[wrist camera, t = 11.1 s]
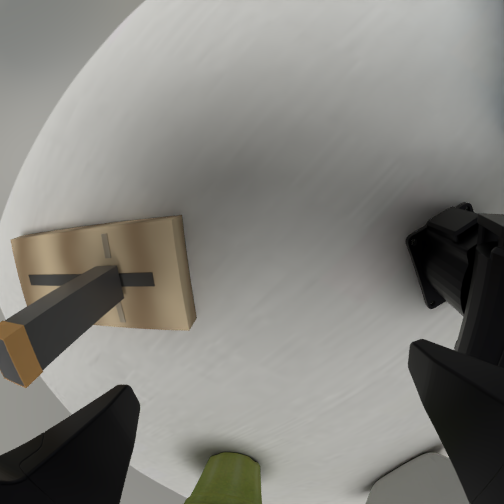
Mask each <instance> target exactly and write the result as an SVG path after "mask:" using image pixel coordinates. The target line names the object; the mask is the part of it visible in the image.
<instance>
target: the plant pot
mask: <svg viewBox="0 0 504 504" xmlns="http://www.w3.org/2000/svg"><path fill="white" fill-rule="evenodd" d="M184 504H262V498H261V476H260V465H259V464H258V463H257V462H254V461H253V460H252V459H251V458H250V457H248V456H246V455H242V454H238V453H231V452H224V453H220V454H218V455H215V456H211V457H210V458H209V460H208V462H207V464H206V466H205V468H204V471H203V473H202V475H201V477H200V479H199V481H198V483H197V484H196V486H195V488H194V490H193V492H192V494H191V496H190V497H188V498H187V499H186V501H185V503H184Z"/></svg>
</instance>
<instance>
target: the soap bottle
mask: <svg viewBox="0 0 504 504" xmlns="http://www.w3.org/2000/svg"><path fill="white" fill-rule="evenodd" d="M366 504H469V502H468V499H467V497H466V494H465V492H464V490H463V487H462V485H461V483H460V480H459V478H458V476H457V473H456V471H455V469H454V467H453V465H452V463H451V460H450V458H447V457H445V456H443V455H441V454H438V453H433V452H429V453H425V454H423V455H420V456H418V457H416V458H415V459H413V460H411V461H409V462H407V463H406V464H404V465H402V466H400V467H399V468H397V469H395V470H394V471H392V472H390V473H389V474H387V475H385V476H384V477H382V478H381V479H379V480H378V481H377V482H376V483H375V484H374V486H373V487H372V488H371V491H370V494H369V496H368V499H367V502H366Z"/></svg>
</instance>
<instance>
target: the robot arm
mask: <svg viewBox="0 0 504 504" xmlns="http://www.w3.org/2000/svg"><path fill="white" fill-rule="evenodd" d="M466 207H467V211H466V210H465V209H466ZM412 239H415V242H414V244H411V241H412ZM406 245H407V247H408V250H409V253H410V256H411V258H412V261H413V264H414V267H415V270H416V273H417V276H418V279H419V283H420V286H421V289H422V292H423V296H424V299H425V303H426V305H427V307H428V308H430V309H434V308H435V307H437V306H439V305H440V304H442V303H443V302H445V301H447V302H448V303H449V304H451V305H452V306H453V307H454V308H455V309H456V310H457V311H458V312H459V313H460V314H461V315H463V316H464V317H463V321H462V325H461V329H460V333H459V336H458V340H457V341H456V344H455V347H454V349H455V350H452V349H449V348H446V347H443V346H441V345H438V344H435V343H433V342H430V341H427V340H424V339H420V340H417V341H414V342H412V343H411V344H410V350H409V359H408V368H409V371H410V373H411V376H412V378H413V381H414V383H415V386H416V388H417V391H418V394H419V396H420V399H421V401H422V404H423V406H424V408H425V410H426V412H427V414H428V416H429V418H430V420H431V422H432V424H433V426H434V428H435V430H436V432H437V434H438V436H439V438H440V440H441V442H442V444H443V446H444V448H445V450H446V452H447V454H448V456H449V458H450V460H451V463H452V465H453V467H454V469H455V471H456V473H457V476H458V478H459V480H460V483H461V485H462V487H463V490H464V492H465V494H466V497H467V499H468V502H469V504H504V215H500V214H480V213H478V214H477V213H474V212H473V208H472V206H471V204H470V203H466V202H464V203H462V204H461V205H459V206H457V207H456V208H455V207H450V208H448V209H447V210H445V211H444V212H442V213H440V214H438V215H437V216H435V217H433V218H432V219H430V220H428V222H427V225H426V226H424V227H422V228H421V229H419V230H417V231H415V232H414V233H412V234H410V235H409V236H408V237H407V239H406ZM431 301H433V303H432V304H430V303H431ZM139 413H140V403H139V401H138V399H137V397H136V395H135V394H134V392H133V390H132V388H131V387H130V386H129V385H117V386H115V387H114V388H112V389H111V390H109V391H108V392H106V393H105V394H103V395H102V396H100V397H99V398H97V399H96V400H94V401H93V402H91V403H89V404H88V405H86V406H85V407H83V408H82V409H80V410H79V411H77V412H76V413H74V414H72V415H71V416H69V417H68V418H66V419H65V420H63V421H61V422H60V423H58V424H57V425H55V426H53V427H52V428H50V429H48V430H47V431H45V433H42V434H41V435H39V436H37V437H36V438H34V439H32V440H30V441H28V442H27V443H25V444H23V445H21V446H19V447H17V448H15V449H13V450H11V451H9V452H7V453H5V454H2V455H0V504H119V503H120V499H121V495H122V491H123V487H124V482H125V478H126V474H127V471H128V467H129V463H130V459H131V455H132V452H133V448H134V443H135V438H136V431H137V425H138V419H139Z"/></svg>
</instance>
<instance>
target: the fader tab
mask: <svg viewBox="0 0 504 504" xmlns="http://www.w3.org/2000/svg"><path fill="white" fill-rule="evenodd" d="M123 299H124V295H123V291H122V286H121V282H120V277H119V272H118V267H117V265H113V266H95V267H93V268H92V269H90V270H88V271H86V272H85V273H83V274H81V275H79V276H77V277H76V278H74V279H72V280H71V281H69V282H67V283H65V284H64V285H62V286H60V287H59V288H57V289H55V290H53V291H52V292H50V293H48V294H47V295H45V296H43V297H42V298H40V299H39V300H37V301H35V302H34V303H32V304H30V305H29V306H27V307H26V308H24V309H22V310H21V311H19V312H18V313H16V314H15V315H13V316H11V317H10V318H8V319H7V320H5V321H1V322H0V371H1V373H2V375H3V376H4V378H5V379H7V380H9V381H11V382H13V383H15V384H18V385H20V386H22V387H25V388H27V387H28V386H29V385H30V384H31V383H32V382H33V381H34V380H35V379H36V378H37V377H38V376H39V375H40V374H41V373H42V372H43V370H44V369H45V368H46V367H47V366H48V365H49V364H50V363H51V362H52V361H53V360H54V359H55V358H57V357H58V356H59V355H60V354H61V353H62V352H63V351H64V350H65V349H66V348H68V347H69V346H70V345H71V344H72V343H73V342H74V341H75V340H76V339H78V338H79V337H80V336H81V335H82V334H83V333H84V332H85V331H87V330H88V329H89V328H90V327H91V326H92V325H93V324H95V323H96V322H97V321H98V320H99V319H100V318H102V317H103V316H104V315H105V314H106V313H107V312H109V311H110V310H111V309H112V308H113V307H114V306H116V305H117V304H118V303H119V302H120V301H121V300H123Z"/></svg>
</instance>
